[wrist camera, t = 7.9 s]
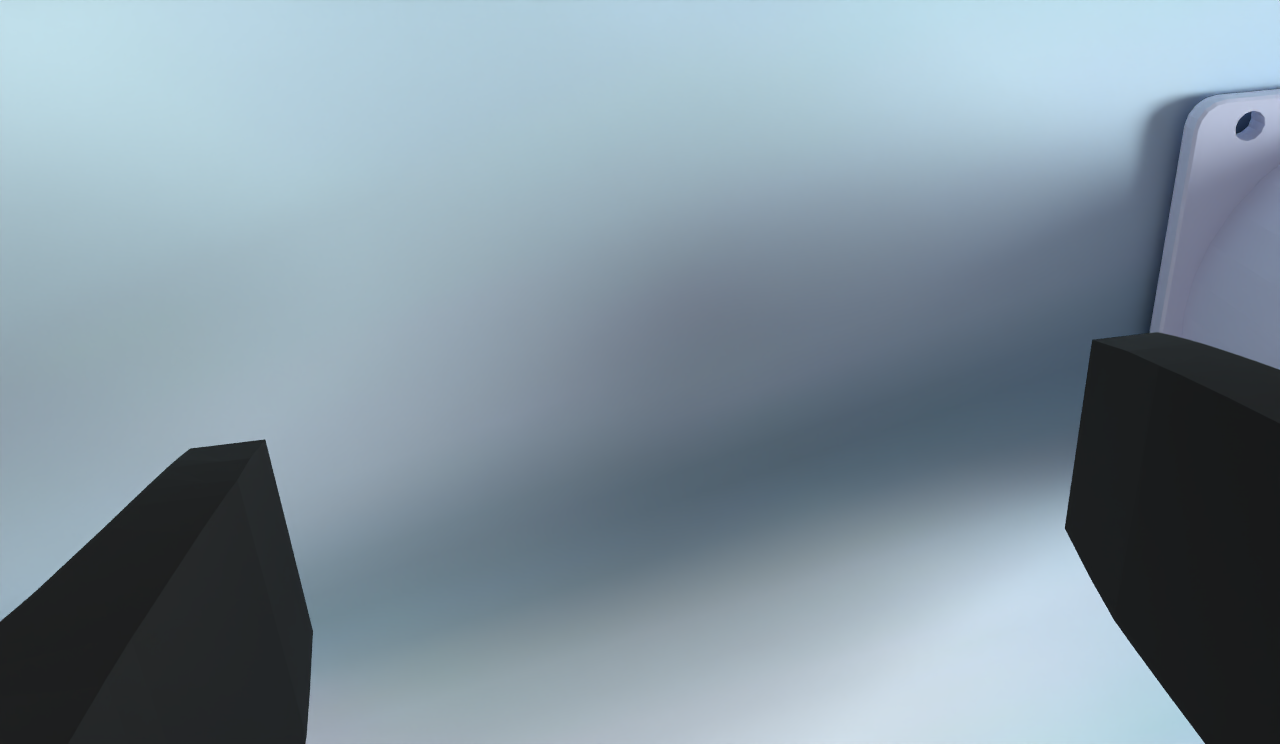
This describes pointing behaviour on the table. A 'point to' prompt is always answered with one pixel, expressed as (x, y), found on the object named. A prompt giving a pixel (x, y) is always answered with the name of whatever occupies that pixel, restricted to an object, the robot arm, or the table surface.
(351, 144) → the table surface
